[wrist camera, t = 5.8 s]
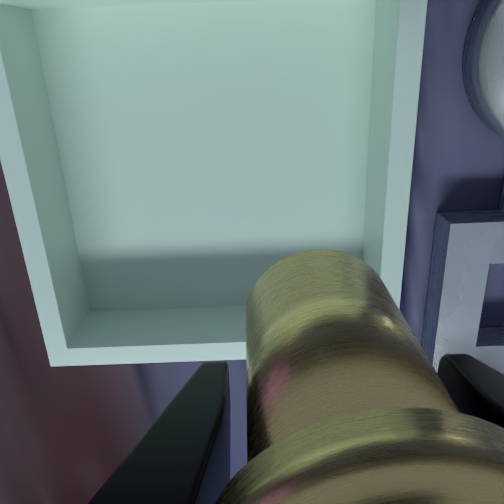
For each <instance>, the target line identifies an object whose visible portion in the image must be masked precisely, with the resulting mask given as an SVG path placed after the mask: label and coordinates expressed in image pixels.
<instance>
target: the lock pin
mask: <svg viewBox="0 0 504 504" xmlns="http://www.w3.org/2000/svg"><path fill="white" fill-rule="evenodd" d="M245 318H246V388H247V458H248V463H247V464H246V465H245V466H244V467H243V468H242V469H241V470H240V471H239V472H237V474H236V475H235V476H234V477H233V478H232V480H231V481H230V482H229V483H228V484H227V485H226V487H225V488H224V489H223V491H222V493H221V494H220V496H219V497H218V499H217V501H216V502H215V504H504V428H502V427H500V426H498V425H496V424H493V423H491V422H488V421H485V420H483V419H480V418H478V417H474V416H470V415H466V414H462V413H460V411H459V409H458V408H457V406H456V404H455V403H454V401H453V399H452V397H451V396H450V394H449V392H448V391H447V389H446V387H445V386H444V384H443V382H442V381H441V379H440V377H439V376H438V374H437V372H436V370H435V369H434V367H433V365H432V364H431V362H430V360H429V359H428V357H427V355H426V354H425V352H424V350H423V349H422V347H421V345H420V344H419V342H418V340H417V338H416V337H415V335H414V333H413V332H412V330H411V328H410V327H409V325H408V323H407V322H406V320H405V318H404V317H403V315H402V313H401V311H400V310H399V308H398V306H397V305H396V303H395V301H394V300H393V298H392V296H391V295H390V293H389V291H388V290H387V288H386V286H385V284H384V283H383V281H382V280H381V278H380V277H379V275H378V274H377V273H376V272H375V270H374V269H373V268H372V267H371V266H369V265H368V264H367V263H366V262H364V261H363V260H361V259H359V258H358V257H356V256H353V255H351V254H349V253H345V252H342V251H337V250H331V249H314V250H307V251H302V252H298V253H295V254H292V255H290V256H288V257H286V258H283V259H281V260H280V261H278V262H277V263H275V264H274V265H272V266H271V267H270V268H269V269H267V270H266V271H265V272H264V273H263V274H262V276H261V277H260V278H259V279H258V281H257V282H256V283H255V285H254V287H253V288H252V290H251V292H250V295H249V298H248V301H247V306H246V317H245Z"/></svg>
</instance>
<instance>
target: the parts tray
mask: <svg viewBox="0 0 504 504" xmlns="http://www.w3.org/2000/svg"><path fill="white" fill-rule="evenodd" d="M426 10H427V0H0V160H1V164H2V168H3V172H4V176H5V180H6V184H7V188H8V193H9V197H10V201H11V205H12V209H13V213H14V217H15V221H16V226H17V230H18V234H19V238H20V242H21V246H22V250H23V254H24V258H25V263H26V267H27V271H28V275H29V279H30V283H31V287H32V291H33V295H34V300H35V304H36V308H37V312H38V316H39V320H40V324H41V328H42V333H43V337H44V341H45V345H46V349H47V353H48V357H49V361H50V365H51V366H77V365H103V364H130V363H157V362H184V361H211V360H238V359H246V318H245V317H246V306H247V301H248V298H249V295H250V292H251V290H252V288H253V287H254V285H255V283H256V282H257V281H258V279H259V278H260V277H261V276H262V274H263V273H264V272H265V271H266V270H267V269H269V268H270V267H271V266H272V265H274V264H275V263H277V262H278V261H280V260H281V259H283V258H286V257H288V256H290V255H292V254H295V253H298V252H302V251H307V250H314V249H331V250H337V251H342V252H345V253H349V254H351V255H353V256H356V257H358V258H359V259H361V260H363V261H364V262H366V263H367V264H368V265H369V266H371V267H372V268H373V269H374V270H375V272H376V273H377V274H378V275H379V277H380V278H381V280H382V281H383V283H384V284H385V286H386V288H387V290H388V291H389V293H390V295H391V296H392V298H393V300H394V301H395V303H396V305H397V306H398V308H399V307H400V296H401V285H402V274H403V263H404V252H405V241H406V230H407V219H408V208H409V197H410V186H411V175H412V164H413V153H414V142H415V131H416V120H417V109H418V98H419V87H420V76H421V65H422V54H423V43H424V32H425V21H426Z"/></svg>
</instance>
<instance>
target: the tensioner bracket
mask: <svg viewBox="0 0 504 504" xmlns="http://www.w3.org/2000/svg"><path fill="white" fill-rule="evenodd" d="M462 70H463V81H464V86H465V91H466V94H467V97H468V99H469V102H470V104H471V106H472V108H473V110H474V112H475V113H476V114H477V116H478V117H479V118H480V120H481V121H482V122H483V123H484V124H485V125H486V126H487V127H488V128H489V129H491V130H492V131H494V132H495V133H496V134H498V135H500V136H502V137H504V0H482V2H481V4H480V6H479V7H478V9H477V11H476V13H475V15H474V17H473V20H472V22H471V24H470V27H469V30H468V33H467V37H466V40H465V46H464V51H463V63H462ZM497 263H504V179H503V185H502V191H501V197H500V203H499V209H498V210H479V211H454V212H437V215H436V223H435V232H434V241H433V249H432V258H431V267H430V275H429V284H428V293H427V301H426V310H425V319H424V327H423V336H422V345H421V347H422V349H423V350H424V352H425V354H426V355H427V357H428V359H429V360H430V362H431V364H432V365H433V367H434V369H435V370H436V372H438V366H439V361H440V359H441V357H442V356H443V355H445V354H468V355H470V356H472V357H474V358H476V359H478V360H479V361H481V362H483V363H485V364H486V365H488V366H490V367H492V368H493V369H495V370H497V371H499V372H500V373H502V374H504V327H488V328H479V324H480V318H481V312H482V306H483V300H484V294H485V288H486V282H487V276H488V270H489V264H497Z"/></svg>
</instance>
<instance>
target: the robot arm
mask: <svg viewBox="0 0 504 504" xmlns="http://www.w3.org/2000/svg"><path fill="white" fill-rule="evenodd" d="M437 374H438V376H439V377H440V379H441V381H442V382H443V384H444V386H445V387H446V389H447V391H448V392H449V394H450V396H451V397H452V399H453V401H454V403H455V404H456V406H457V408H458V409H459V411H460V413H462V414H466V415H470V416H474V417H478V418H480V419H483V420H485V421H488V422H491V423H493V424H496V425H498V426H500V427H502V428H504V374H502V373H500V372H499V371H497V370H495V369H493V368H492V367H490V366H488V365H486V364H485V363H483V362H481V361H479V360H478V359H476V358H474V357H472V356H470V355H468V354H445V355H443V356H442V357H441V359H440V361H439V366H438V372H437ZM229 482H230V388H229V370H228V364H227V362H225V361H215V362H204V363H202V364H201V366H200V367H199V368H198V369H197V370H196V372H195V373H194V374H193V375H192V377H191V378H190V379H189V380H188V382H187V383H186V384H185V385H184V386H183V388H182V389H181V390H180V391H179V393H178V394H177V395H176V396H175V397H174V399H173V400H172V401H171V402H170V404H169V405H168V406H167V407H166V408H165V410H164V411H163V412H162V413H161V415H160V416H159V417H158V418H157V420H156V421H155V422H154V423H153V424H152V426H151V427H150V428H149V429H148V431H147V432H146V433H145V434H144V435H143V437H142V438H141V439H140V440H139V442H138V443H137V444H136V445H135V447H134V448H133V449H132V450H131V451H130V453H129V454H128V455H127V456H126V458H125V459H124V460H123V461H122V462H121V464H120V465H119V466H118V467H117V469H116V470H115V471H114V472H113V473H112V475H111V476H110V477H109V478H108V480H107V481H106V482H105V483H104V485H103V486H102V487H101V488H100V489H99V491H98V492H97V493H96V494H95V496H94V497H93V498H92V499H91V500H90V502H89V503H88V504H215V502H216V501H217V499H218V497H219V496H220V494H221V493H222V491H223V489H224V488H225V487H226V485H227V484H228V483H229Z"/></svg>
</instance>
